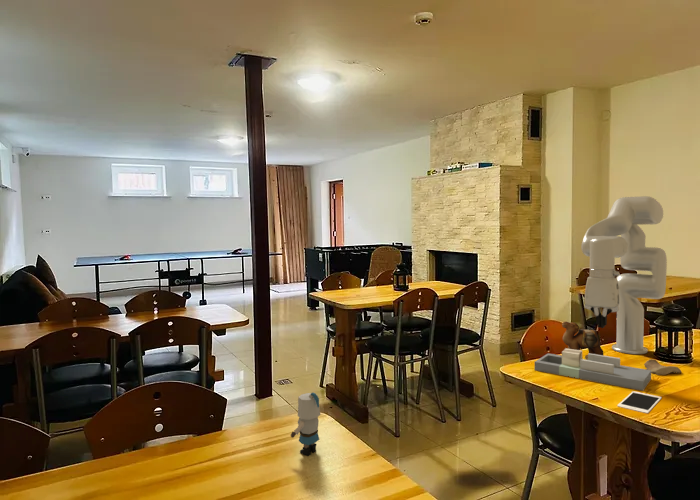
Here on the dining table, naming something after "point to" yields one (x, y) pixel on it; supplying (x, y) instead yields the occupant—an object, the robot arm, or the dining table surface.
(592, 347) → the figurine
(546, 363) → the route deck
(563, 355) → the block
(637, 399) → the black and white tile
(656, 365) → the pottery shard
